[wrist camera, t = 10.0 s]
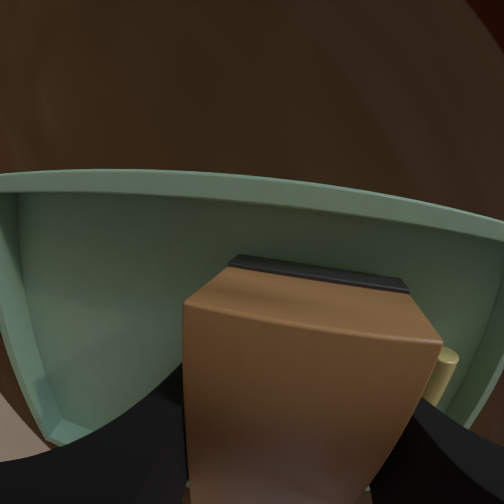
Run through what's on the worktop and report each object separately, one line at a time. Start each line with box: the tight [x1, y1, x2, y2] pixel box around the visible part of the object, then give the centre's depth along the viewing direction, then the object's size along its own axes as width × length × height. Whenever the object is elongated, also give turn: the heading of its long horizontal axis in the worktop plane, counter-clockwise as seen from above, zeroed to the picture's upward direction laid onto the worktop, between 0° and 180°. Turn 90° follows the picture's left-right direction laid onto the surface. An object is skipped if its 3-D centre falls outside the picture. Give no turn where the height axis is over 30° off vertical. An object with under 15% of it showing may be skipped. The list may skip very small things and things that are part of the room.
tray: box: [0, 169, 504, 491], centre depth 9 cm, size 12×19×2 cm, turn 85°
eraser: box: [182, 254, 443, 504], centre depth 7 cm, size 8×4×4 cm, turn 174°
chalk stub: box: [422, 346, 459, 407], centre depth 9 cm, size 3×1×1 cm, turn 175°
